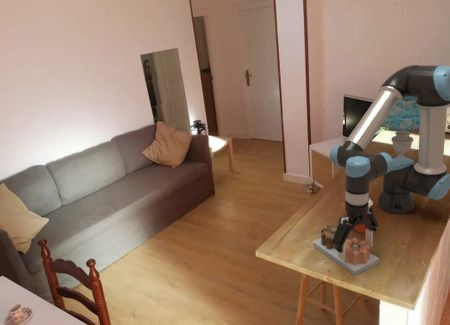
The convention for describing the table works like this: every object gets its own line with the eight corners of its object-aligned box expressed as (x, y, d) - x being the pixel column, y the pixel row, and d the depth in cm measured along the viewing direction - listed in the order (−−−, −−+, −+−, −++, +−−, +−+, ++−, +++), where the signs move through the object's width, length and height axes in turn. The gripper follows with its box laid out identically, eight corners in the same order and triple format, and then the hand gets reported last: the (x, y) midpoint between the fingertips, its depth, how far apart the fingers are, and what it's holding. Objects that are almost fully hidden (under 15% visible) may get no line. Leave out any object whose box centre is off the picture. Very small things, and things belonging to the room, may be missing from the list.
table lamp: (432, 173, 185) (441, 100, 170) (387, 177, 187) (392, 105, 172) (411, 157, 207) (417, 91, 193) (371, 161, 209) (374, 96, 194)
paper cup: (366, 222, 150) (368, 194, 144) (374, 232, 142) (376, 203, 137) (349, 225, 150) (349, 196, 144) (356, 235, 142) (356, 205, 137)
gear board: (335, 235, 144) (335, 221, 141) (378, 263, 125) (379, 247, 123) (312, 245, 139) (312, 231, 137) (354, 275, 121) (355, 259, 118)
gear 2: (354, 245, 133) (354, 235, 131) (375, 258, 125) (375, 247, 123) (335, 255, 129) (335, 244, 127) (355, 268, 121) (356, 257, 119)
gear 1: (334, 233, 142) (334, 220, 140) (351, 244, 134) (352, 230, 132) (316, 241, 138) (316, 228, 136) (333, 253, 130) (333, 239, 128)
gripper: (373, 186, 126) (371, 234, 134) (321, 208, 117) (322, 258, 124) (391, 193, 120) (387, 244, 128) (337, 217, 110) (337, 270, 118)
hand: (355, 251), depth 126 cm, fingers open, 13 cm apart
